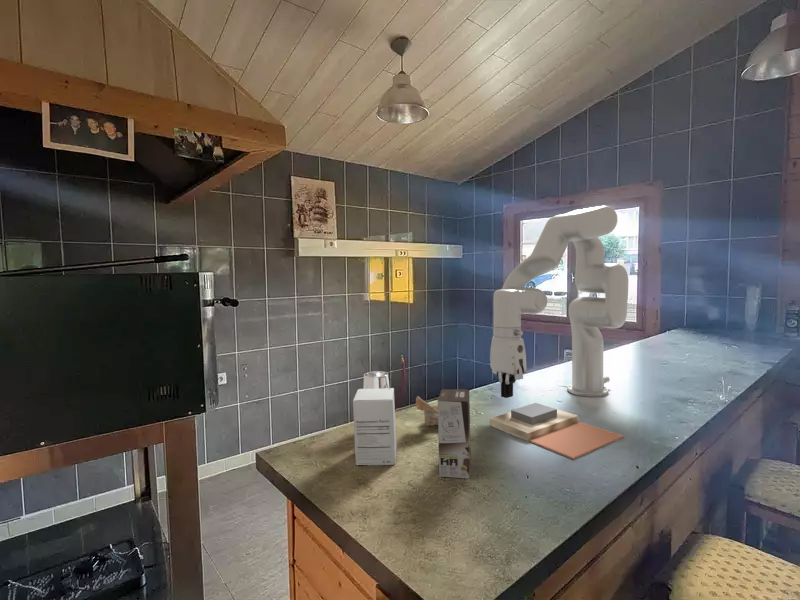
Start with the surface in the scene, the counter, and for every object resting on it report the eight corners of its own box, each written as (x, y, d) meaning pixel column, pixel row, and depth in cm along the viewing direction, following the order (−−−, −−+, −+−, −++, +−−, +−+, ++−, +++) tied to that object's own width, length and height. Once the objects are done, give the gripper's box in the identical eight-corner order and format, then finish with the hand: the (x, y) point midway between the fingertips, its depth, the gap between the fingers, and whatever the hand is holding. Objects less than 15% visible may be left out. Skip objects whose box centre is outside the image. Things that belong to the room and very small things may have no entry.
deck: (538, 410, 125) (538, 403, 125) (578, 422, 114) (578, 415, 114) (489, 425, 114) (489, 418, 114) (528, 441, 103) (528, 433, 103)
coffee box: (470, 479, 86) (468, 401, 85) (438, 477, 87) (436, 400, 86) (471, 459, 95) (470, 388, 93) (443, 457, 96) (441, 387, 95)
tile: (535, 409, 120) (535, 402, 119) (556, 416, 114) (556, 409, 114) (511, 417, 114) (511, 410, 114) (532, 424, 108) (531, 417, 108)
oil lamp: (406, 430, 113) (405, 393, 113) (452, 409, 129) (451, 376, 128) (432, 438, 107) (431, 399, 107) (477, 414, 123) (476, 381, 123)
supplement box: (359, 449, 102) (357, 388, 101) (396, 448, 102) (394, 387, 101) (354, 466, 93) (351, 399, 92) (395, 465, 93) (392, 398, 92)
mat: (579, 423, 114) (579, 421, 114) (623, 437, 104) (623, 435, 104) (529, 441, 103) (529, 440, 103) (573, 459, 93) (573, 457, 93)
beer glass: (379, 421, 120) (377, 369, 119) (396, 427, 115) (394, 373, 114) (359, 428, 115) (357, 374, 114) (376, 435, 110) (374, 378, 109)
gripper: (537, 334, 116) (537, 400, 117) (497, 329, 128) (497, 388, 129) (518, 337, 112) (518, 405, 113) (478, 331, 124) (479, 392, 125)
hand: (507, 396), depth 121 cm, fingers closed
